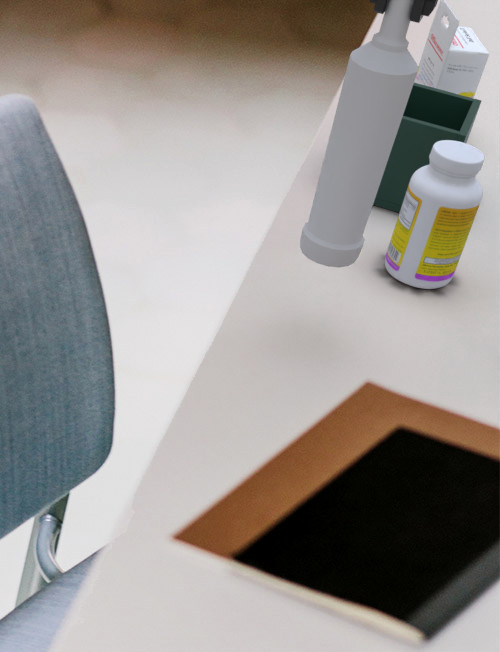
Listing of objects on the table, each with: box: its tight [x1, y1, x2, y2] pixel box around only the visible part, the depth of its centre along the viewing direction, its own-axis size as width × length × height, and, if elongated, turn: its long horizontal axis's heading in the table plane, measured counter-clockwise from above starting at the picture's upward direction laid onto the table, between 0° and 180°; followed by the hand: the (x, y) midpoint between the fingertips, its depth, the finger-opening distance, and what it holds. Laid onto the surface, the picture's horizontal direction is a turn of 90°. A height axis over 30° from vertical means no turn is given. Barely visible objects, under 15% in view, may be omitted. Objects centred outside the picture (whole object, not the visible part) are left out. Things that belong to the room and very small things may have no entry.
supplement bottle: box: [384, 140, 486, 290], centre depth 112 cm, size 7×7×13 cm
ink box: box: [414, 0, 490, 99], centre depth 137 cm, size 9×5×15 cm, turn 179°
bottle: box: [299, 0, 419, 268], centre depth 92 cm, size 5×5×25 cm
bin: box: [373, 83, 482, 213], centre depth 126 cm, size 11×11×10 cm
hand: (398, 13), depth 87 cm, fingers closed on bottle, 2 cm apart
